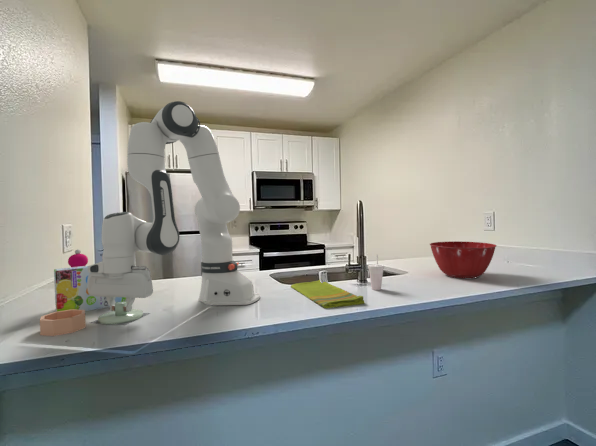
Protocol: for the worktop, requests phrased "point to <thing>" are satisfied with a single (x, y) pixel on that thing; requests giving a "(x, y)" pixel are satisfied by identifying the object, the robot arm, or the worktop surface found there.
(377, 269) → the smoothie
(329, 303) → the dish towel
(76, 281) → the snack box
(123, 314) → the lid
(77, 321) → the bowl
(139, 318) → the mat
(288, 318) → the worktop surface
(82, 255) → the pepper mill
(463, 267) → the mixing bowl
